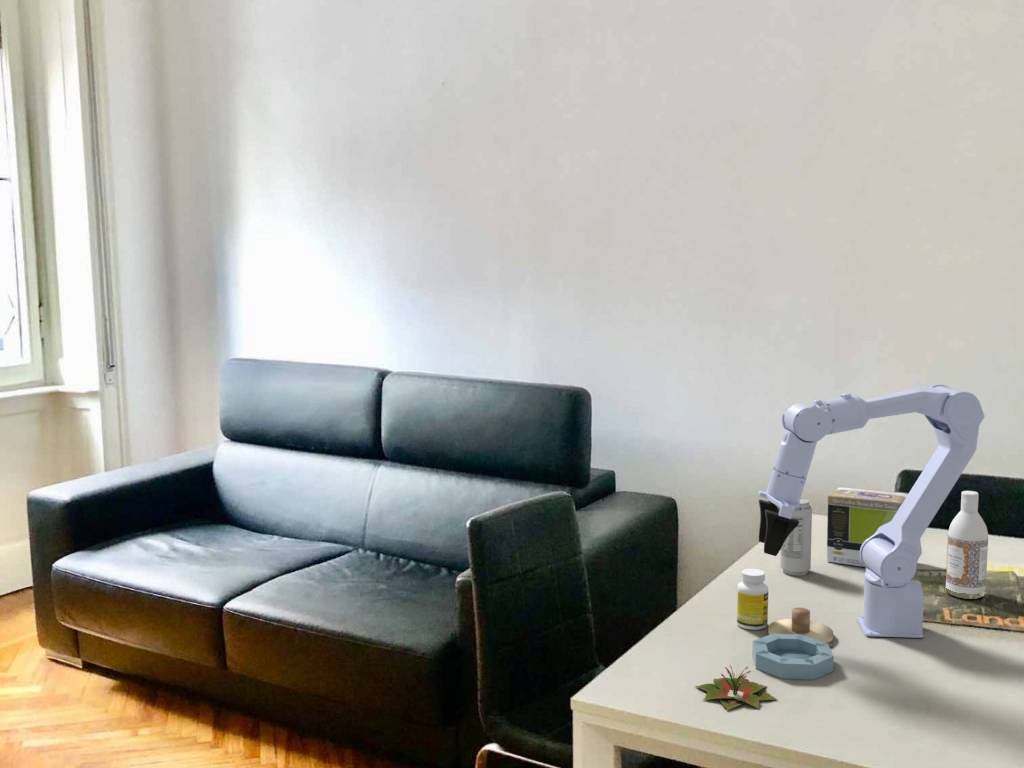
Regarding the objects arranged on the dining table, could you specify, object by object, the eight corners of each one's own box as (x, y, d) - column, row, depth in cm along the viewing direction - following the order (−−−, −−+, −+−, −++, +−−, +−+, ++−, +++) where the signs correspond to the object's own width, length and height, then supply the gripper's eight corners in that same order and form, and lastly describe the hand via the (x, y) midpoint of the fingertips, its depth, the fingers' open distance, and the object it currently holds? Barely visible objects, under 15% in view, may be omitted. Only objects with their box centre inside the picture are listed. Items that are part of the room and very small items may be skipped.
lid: (827, 623, 179) (827, 600, 178) (838, 647, 168) (839, 623, 167) (764, 621, 180) (765, 598, 179) (772, 645, 169) (772, 621, 169)
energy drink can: (816, 572, 207) (818, 501, 204) (797, 578, 203) (798, 506, 201) (793, 565, 211) (795, 495, 209) (773, 570, 208) (775, 500, 206)
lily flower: (680, 688, 156) (680, 660, 155) (745, 674, 160) (746, 647, 160) (724, 721, 145) (724, 691, 144) (793, 706, 149) (793, 676, 149)
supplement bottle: (768, 631, 176) (769, 577, 175) (736, 630, 177) (737, 576, 176) (767, 620, 182) (768, 567, 180) (736, 618, 183) (737, 566, 181)
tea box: (910, 560, 213) (912, 492, 211) (899, 574, 205) (902, 503, 203) (837, 549, 221) (839, 484, 219) (825, 562, 213) (827, 494, 211)
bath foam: (937, 591, 194) (941, 490, 192) (964, 586, 197) (968, 486, 194) (966, 603, 188) (971, 498, 185) (993, 597, 191) (998, 494, 188)
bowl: (823, 649, 168) (824, 635, 168) (837, 680, 156) (837, 665, 156) (750, 647, 170) (750, 632, 169) (758, 677, 158) (758, 662, 158)
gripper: (761, 459, 179) (740, 531, 180) (771, 474, 165) (748, 552, 166) (800, 470, 178) (779, 542, 180) (814, 486, 164) (791, 564, 165)
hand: (767, 548), depth 173 cm, fingers open, 7 cm apart
